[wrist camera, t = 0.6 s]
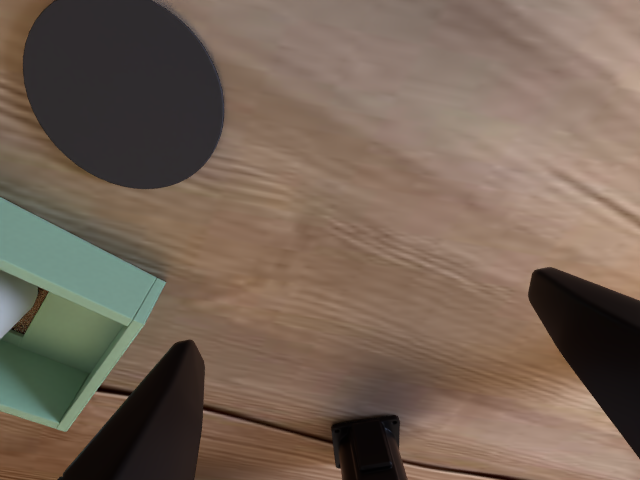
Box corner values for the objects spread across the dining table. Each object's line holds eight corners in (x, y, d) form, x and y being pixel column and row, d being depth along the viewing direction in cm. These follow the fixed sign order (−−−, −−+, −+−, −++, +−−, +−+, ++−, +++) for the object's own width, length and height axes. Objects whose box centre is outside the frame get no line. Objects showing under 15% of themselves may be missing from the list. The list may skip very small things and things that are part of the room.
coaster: (240, 176, 22) (239, 178, 21) (75, 196, 21) (71, 198, 21) (199, -21, 17) (197, -23, 17) (-12, -2, 17) (-19, -3, 16)
